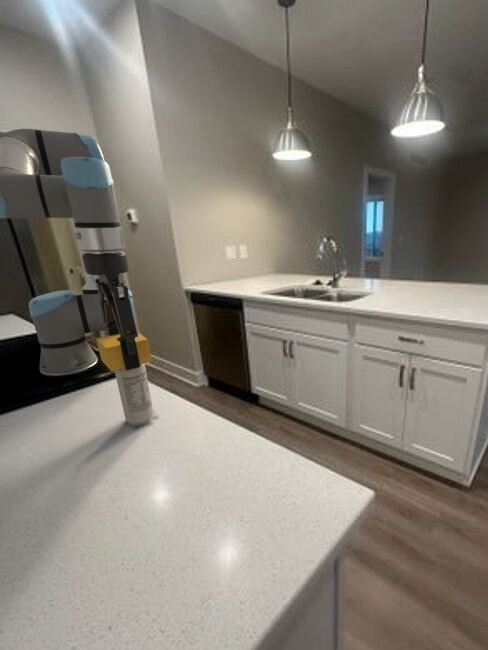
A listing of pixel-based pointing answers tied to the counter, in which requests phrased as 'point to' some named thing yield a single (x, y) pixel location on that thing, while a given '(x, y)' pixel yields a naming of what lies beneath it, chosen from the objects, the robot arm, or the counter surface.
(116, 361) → the block
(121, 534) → the counter surface
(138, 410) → the energy drink can
